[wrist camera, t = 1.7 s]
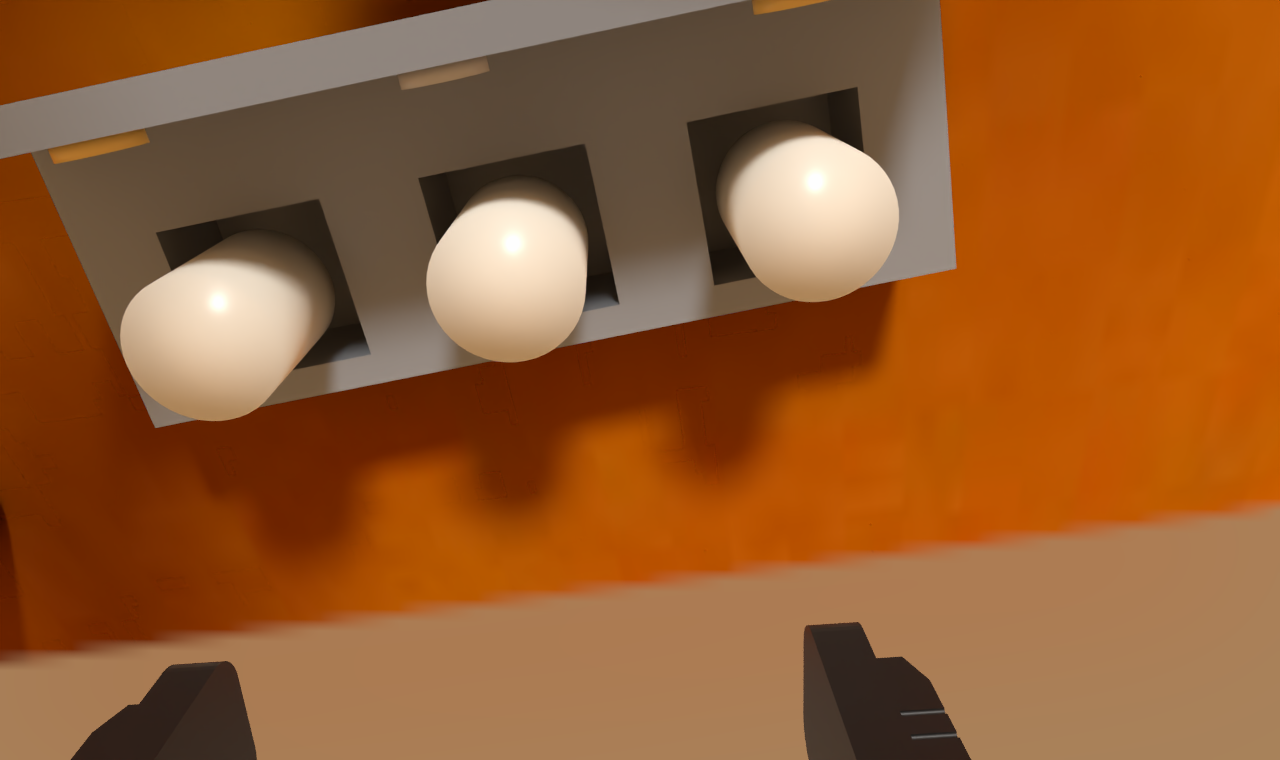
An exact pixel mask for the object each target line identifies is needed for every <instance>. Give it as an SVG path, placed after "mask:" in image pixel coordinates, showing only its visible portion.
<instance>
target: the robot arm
mask: <svg viewBox="0 0 1280 760" xmlns="http://www.w3.org/2000/svg"><path fill="white" fill-rule="evenodd" d="M803 713H804V732H805V740H806V747H807V753H808V758H809V760H971V759H970V757H969V755H968V753H967V751H966V749H965V747H964V745H963V743H962V741H961V739H960V738H957V734H956V730H955V728H954V726H953V724H952V722H951V720H950V718H949V716H948V714H945V711H944V707H943V705H942V703H941V701H940V699H939V697H938V695H937V693H936V691H935V690H934V687H933V686H932V684H931V682H930V680H929V679H928V678H927V677H925V676H924V675H923V674H922V673H921V672H919V671H918V670H917V669H916V668H915V667H914V666H912V665H911V664H910V663H909V662H908V661H906V660H905V659H904V658H903V657H890V658H876V657H875V655H874V653H873V650H872V648H871V646H870V644H869V641H868V639H867V637H866V635H865V632H864V630H863V628H862V626H861V625H860V624H859V623H858V622H853V623H838V624H823V625H808V626H806V627H805V631H804V711H803ZM71 760H257V758H256V750H255V745H254V741H253V737H252V732H251V728H250V724H249V720H248V716H247V712H246V708H245V704H244V699H243V695H242V692H241V687H240V683H239V679H238V675H237V672H236V670H235V668H234V666H233V665H232V664H231V663H230V662H227V661H224V662H208V663H193V664H179V665H178V664H177V665H171V666H169V667H168V668H167V669H166V670H165V671H164V672H163V673H162V675H161V676H160V677H159V679H158V680H157V681H156V683H155V684H154V685H153V687H152V688H151V689H150V691H149V692H148V693H147V694H146V696H145V697H144V698H143V700H142V701H141V702H140V704H138V705H128V706H127V707H125V708H124V709H123V710H121V711H120V712H119V713H117V714H116V715H115V716H114V717H112V718H111V719H109V720H108V721H107V722H106V723H104V724H103V725H102V726H100V727H99V728H98V729H96V730H95V731H94V732H92V733H91V735H90V736H89V737H88V739H87V740H86V741H85V742H84V744H83V745H82V746H81V747H80V749H79V750H78V751H77V752H76V754H75V755H74V756H73V758H72V759H71Z"/></svg>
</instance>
